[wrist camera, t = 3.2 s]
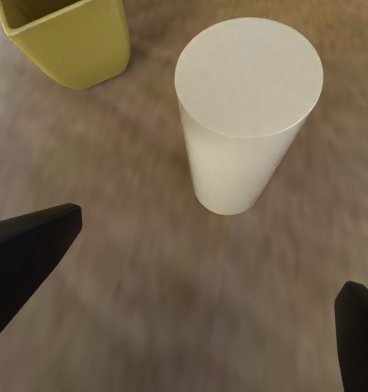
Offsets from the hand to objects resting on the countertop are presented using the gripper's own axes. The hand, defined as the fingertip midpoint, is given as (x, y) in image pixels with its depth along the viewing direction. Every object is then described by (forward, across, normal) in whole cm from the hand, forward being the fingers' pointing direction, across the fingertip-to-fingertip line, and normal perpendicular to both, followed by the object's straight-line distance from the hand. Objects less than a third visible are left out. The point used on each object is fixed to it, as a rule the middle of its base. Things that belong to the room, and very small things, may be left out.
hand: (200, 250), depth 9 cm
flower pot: (+21, +17, -2) cm, 27 cm away
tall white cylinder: (+15, 0, +4) cm, 15 cm away
